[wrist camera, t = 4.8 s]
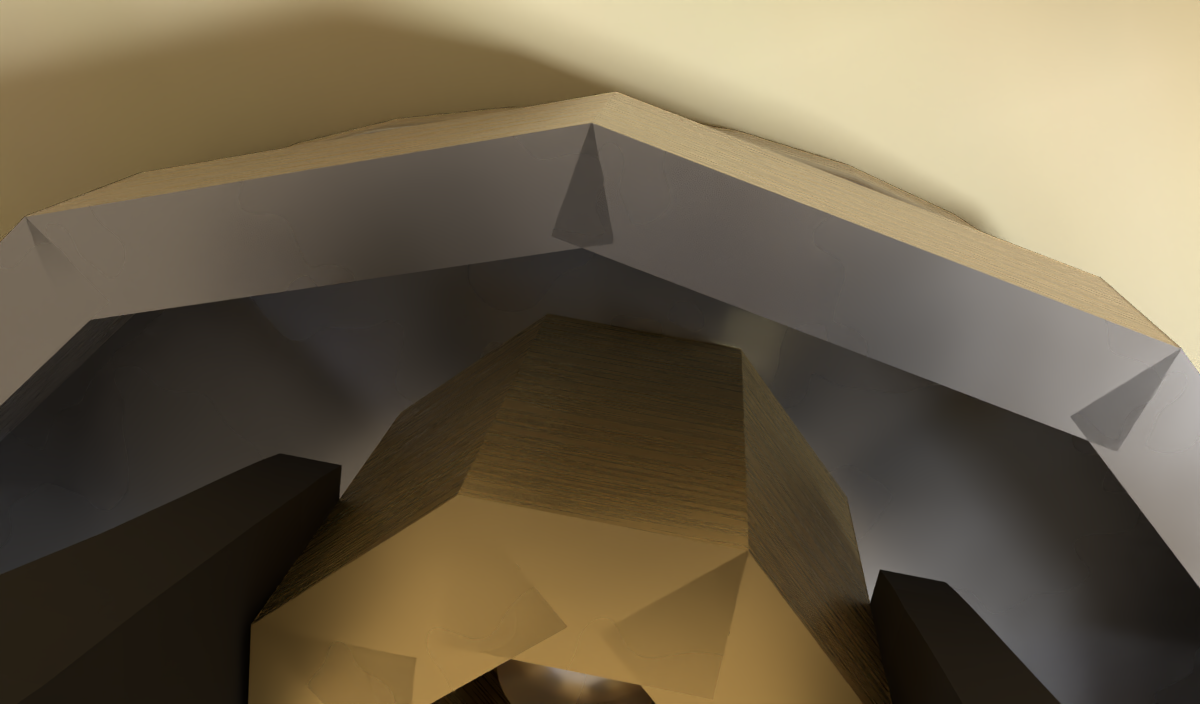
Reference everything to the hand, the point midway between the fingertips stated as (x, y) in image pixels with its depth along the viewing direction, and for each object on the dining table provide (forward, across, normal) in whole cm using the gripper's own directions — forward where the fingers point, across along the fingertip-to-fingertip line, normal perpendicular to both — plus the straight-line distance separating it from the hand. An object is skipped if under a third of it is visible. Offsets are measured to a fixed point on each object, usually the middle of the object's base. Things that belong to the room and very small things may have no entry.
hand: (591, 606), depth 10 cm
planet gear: (+2, 0, 0) cm, 2 cm away
